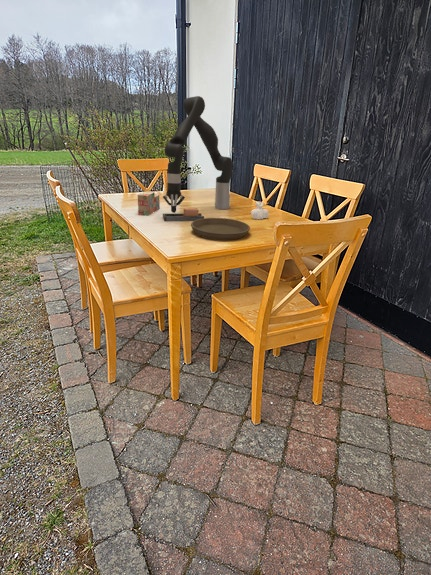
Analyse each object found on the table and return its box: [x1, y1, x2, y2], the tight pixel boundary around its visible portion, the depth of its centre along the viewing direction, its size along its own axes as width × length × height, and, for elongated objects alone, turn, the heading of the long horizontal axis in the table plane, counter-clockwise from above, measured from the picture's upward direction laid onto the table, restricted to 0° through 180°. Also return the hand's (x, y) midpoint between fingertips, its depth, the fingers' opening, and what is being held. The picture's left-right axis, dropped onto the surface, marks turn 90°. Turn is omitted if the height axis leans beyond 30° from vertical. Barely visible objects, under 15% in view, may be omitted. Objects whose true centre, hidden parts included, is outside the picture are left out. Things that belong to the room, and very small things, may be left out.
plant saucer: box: [190, 217, 251, 241], centre depth 192 cm, size 31×31×5 cm
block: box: [183, 207, 199, 216], centre depth 216 cm, size 8×4×6 cm, turn 104°
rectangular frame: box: [162, 212, 205, 222], centre depth 215 cm, size 23×8×2 cm, turn 104°
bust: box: [250, 200, 270, 220], centre depth 226 cm, size 12×8×11 cm
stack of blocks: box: [137, 191, 161, 216], centre depth 227 cm, size 21×6×12 cm, turn 169°
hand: (173, 212), depth 212 cm, fingers closed
